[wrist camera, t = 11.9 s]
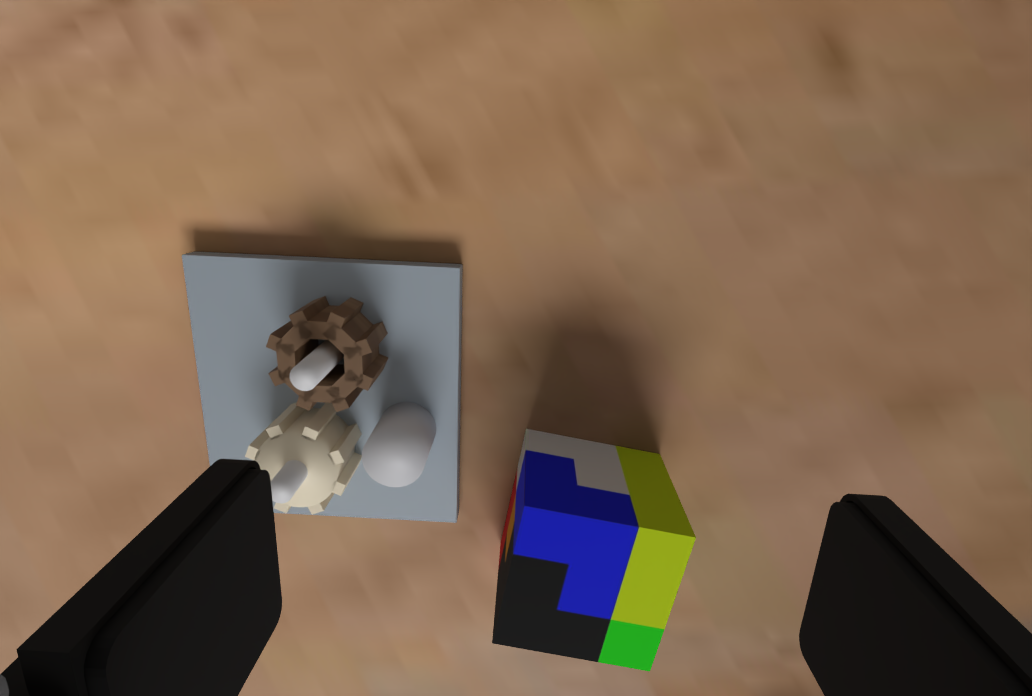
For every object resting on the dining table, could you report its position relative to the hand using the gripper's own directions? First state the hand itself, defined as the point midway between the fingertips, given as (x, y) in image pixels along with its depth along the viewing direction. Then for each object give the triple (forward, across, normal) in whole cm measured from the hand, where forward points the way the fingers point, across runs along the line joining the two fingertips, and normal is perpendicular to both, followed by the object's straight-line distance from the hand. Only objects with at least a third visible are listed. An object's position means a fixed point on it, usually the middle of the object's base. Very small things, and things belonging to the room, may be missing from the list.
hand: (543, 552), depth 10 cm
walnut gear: (+29, +13, +6) cm, 32 cm away
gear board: (+30, +14, +10) cm, 35 cm away
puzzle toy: (+31, -4, +18) cm, 36 cm away
